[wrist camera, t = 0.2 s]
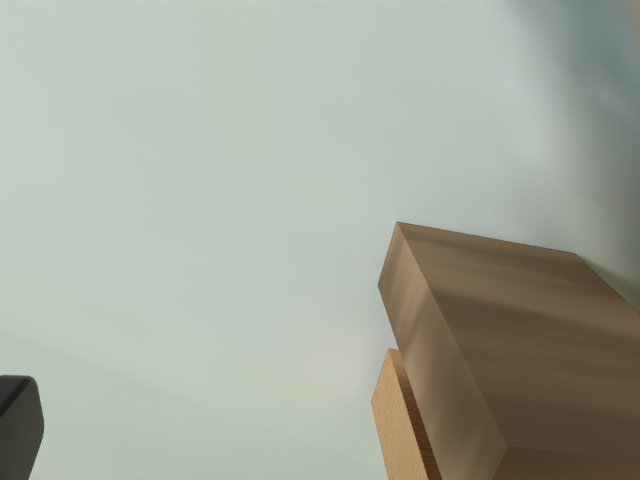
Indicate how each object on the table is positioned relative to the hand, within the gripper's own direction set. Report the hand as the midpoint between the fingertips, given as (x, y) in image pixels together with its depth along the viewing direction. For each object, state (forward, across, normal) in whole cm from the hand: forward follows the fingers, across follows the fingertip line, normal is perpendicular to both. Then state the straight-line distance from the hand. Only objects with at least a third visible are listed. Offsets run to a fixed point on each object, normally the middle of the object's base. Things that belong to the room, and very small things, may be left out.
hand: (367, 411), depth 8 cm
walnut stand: (+15, -7, +9) cm, 18 cm away
